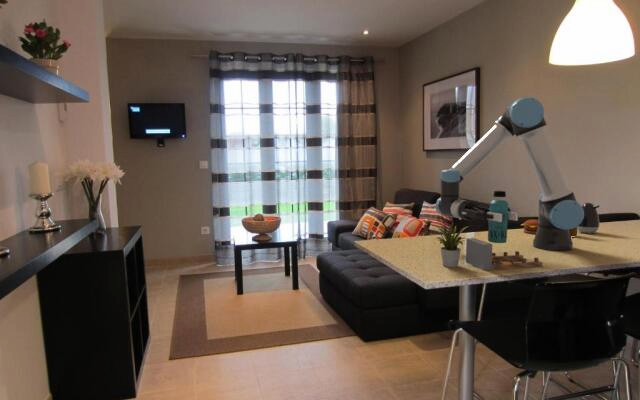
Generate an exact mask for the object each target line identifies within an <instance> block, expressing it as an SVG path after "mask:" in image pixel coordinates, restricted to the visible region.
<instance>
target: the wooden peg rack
mask: <svg viewBox="0 0 640 400" xmlns="http://www.w3.org/2000/svg"><path fill="white" fill-rule="evenodd" d="M496 254H497V253H496V252H492V255H493V256H494V258H492V262H496V263H492V270H493V271H494V270H509V268H510V269H521V268H535V267H543V261H541V260H540V261H539V259H540V258H539V257H533V261H527V258H524V255H522V254H520V251H518V250H517V251H515V254H513V255H508V252H507V251H503V255H496ZM515 261H521V262H515ZM501 262H511V264H509V265H503V264H501Z"/></svg>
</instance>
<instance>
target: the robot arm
mask: <svg viewBox="0 0 640 400" xmlns="http://www.w3.org/2000/svg"><path fill="white" fill-rule="evenodd" d="M544 115H545V109H544V106H543V104H542V102H540V101H539V100H538V99H536V98H535V97H531V96H523V97H521V98H518V99H516V100H515V101H513V102H511V103H510V104H509V105H508V106H507V107H506V109H505V110H504V111H503V113H502V114H501V115H500V116H499V118H497V119H496V120H495V122H494V125H493V126H492V128H490V130H488V131H487V132H486V133H485V134H484V135H482V137H481V138H480V139H479V140H478V141H477V142H476V143H475V144H474V145H473V146H472V147H470V149H469V150H468V151H466V153H464V155H463V156H461V157H460V158H459V159H458V160H457V161H456V162H454V164H453V165H452V166H451V168H449V169H442V170H441V172H440V178H439V185H440V197H438V199H437V200H436V203H434V205H435V206H434V208H435V210H436V212H437V214H439V215H442V216H445V217H452V218H456V219H458V220H460V221H461V220H462V219H463V220H465V221H473V220H475V219H476V220H481V219H482V221H483V222H487V221H489V220H492V221H498V222H502V214H498V213H492V212H490V207H483V206H479V205H478V204H477V202H475V201H474V200H473V201H470V200H466V199H460V184H461V182H463V181H464V180H465V179H466V178H467V177H468V175H470V174H471V173H472V172H473V171H475V169H476V168H477V167H479V166H480V165H481V163H483V161H485V160H486V159H487V158H488V157H489V156H490V155H491V154H492V153H494V151H496V150H497V149H498V148H499V146H501V145H502V144H503V143H504V142H505V141H506V140H507V139H508V138H509V139H510V138H513V137H514V136H515V137H516V138H518V139H520V140H521V141H522V143H523V146H524V149H525V150H526V155H527V156H528V159H529V161H530V164H531V167H532V169H533V171H534V174H535V176H536V179H537V182H538V184H539V187H540V189H541V192H542V193H541V194H540V195H539V198H538V230H537V233H536V234H534V238H533V239H532V240H533V241H532V246H533V247H534V248H537V249H542V250H548V251H571V250H573V249H572V248H574V243H573V240H572V239H573V238H571V236H570V232H569V229H572V228H575V227H577V226H578V225H579V224H580V223H581V222H582V220H583V218H584V210H583V208H582V205H581V204H580V203H579V202H578V201H577V197H576V196H575V193H574V190H573V189H570V188H568V187H567V185H566V183H565V180H564V177H563V175H562V172H561V170H560V168H559V164H558V162H557V159H556V157H555V154H554V152H553V149H552V146H551V143H550V142H549V139H548V136H547V134H546V129H547V126H548V123H547V121H546V119H545V116H544ZM518 216H519V215H518V212H513V211H508V220H509V221H518ZM570 249H571V250H570Z"/></svg>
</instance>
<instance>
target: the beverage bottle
mask: <svg viewBox="0 0 640 400" xmlns="http://www.w3.org/2000/svg"><path fill="white" fill-rule="evenodd" d="M492 196H493V197H494V198H506V197H507V195H506V191H505V190H494V191H493V195H492ZM489 208H490V212H492V213H498V214H502V222H498V221H492V220H488V225H487V226H488V229H487V240H488V243H489V242H490V243H491V244H506V243H507V240H508V227H509V226H508V225H509V224H508V222H509V221H508V220H509V219H508V212H509V202H508V201H507V200H505V199H492V200H491V201H490V202H489Z"/></svg>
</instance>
